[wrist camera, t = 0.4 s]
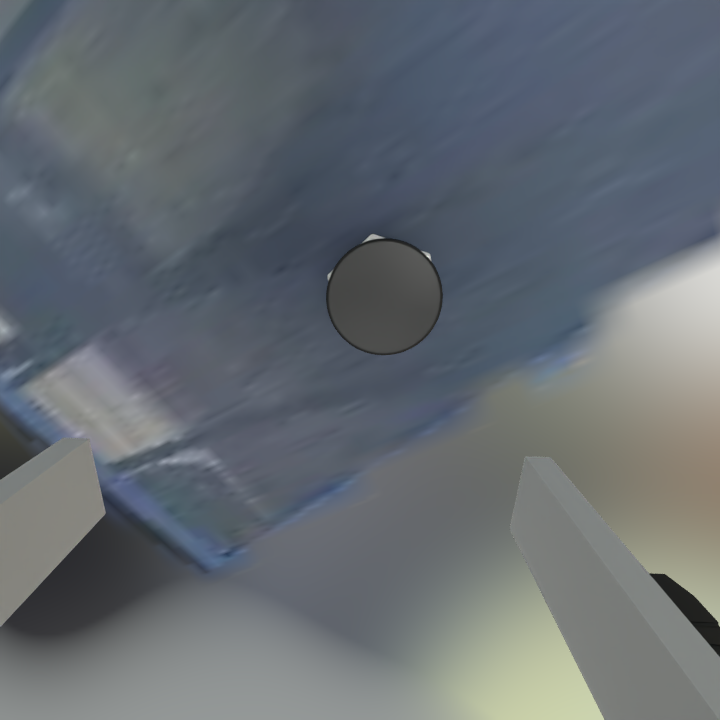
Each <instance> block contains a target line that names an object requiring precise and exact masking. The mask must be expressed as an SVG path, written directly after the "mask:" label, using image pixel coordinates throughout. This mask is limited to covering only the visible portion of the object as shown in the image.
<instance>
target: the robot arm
mask: <svg viewBox="0 0 720 720" xmlns="http://www.w3.org/2000/svg"><path fill="white" fill-rule="evenodd" d="M105 514H106V513H105V508H104V504H103V499H102V495H101V490H100V486H99V481H98V477H97V472H96V467H95V463H94V458H93V454H92V449H91V445H90V440H89V439H85V438H62V439H61V440H59V441H58V442H56V443H55V444H53V445H52V446H50V447H49V448H47V449H46V450H44V451H43V452H41V453H40V454H38V455H37V456H35V457H34V458H33V459H31V460H29V461H28V462H27V463H25V464H24V465H22V466H21V467H19V468H18V469H16V470H15V471H13V472H12V473H10V474H9V475H7V476H6V477H4V478H3V479H1V480H0V627H1V625H2V624H3V623H4V622H5V621H6V620H7V619H8V618H9V617H10V616H11V615H12V614H13V613H14V611H15V610H16V609H17V608H18V607H19V606H20V605H21V604H22V603H23V601H25V600H26V599H27V597H28V596H29V595H30V594H31V593H32V592H33V591H34V590H35V589H36V588H37V587H38V586H39V584H40V583H41V582H42V581H43V580H44V579H45V578H46V577H47V576H48V575H49V574H50V573H51V572H52V571H53V569H54V568H55V567H56V566H57V565H58V564H59V563H60V562H61V561H62V560H63V559H64V558H65V557H66V556H67V554H68V553H69V552H70V551H71V550H72V549H73V548H74V547H75V546H76V545H77V544H78V543H79V542H80V540H81V539H82V538H83V537H84V536H85V535H86V534H87V533H88V532H89V531H90V530H91V529H92V528H93V526H94V525H95V524H96V523H97V522H98V521H99V520H100V519H101V518H102V517H103V516H104V515H105ZM510 531H511V533H512V535H513V537H514V539H515V541H516V543H517V545H518V547H519V549H520V551H521V553H522V555H523V557H524V559H525V561H526V563H527V565H528V567H529V569H530V571H531V573H532V575H533V577H534V579H535V581H536V583H537V585H538V587H539V589H540V591H541V593H542V595H543V597H544V599H545V601H546V603H547V605H548V607H549V609H550V611H551V613H552V615H553V617H554V619H555V621H556V623H557V625H558V627H559V629H560V631H561V633H562V635H563V637H564V639H565V641H566V643H567V645H568V647H569V649H570V651H571V653H572V655H573V657H574V659H575V661H576V663H577V665H578V667H579V669H580V671H581V673H582V675H583V677H584V679H585V681H586V683H587V685H588V687H589V689H590V691H591V693H592V695H593V697H594V699H595V701H596V703H597V705H598V707H599V709H600V711H601V713H602V715H603V717H604V719H605V720H720V627H719V625H718V622H717V620H715V618H714V617H713V616H712V615H711V614H710V613H709V612H708V611H707V610H706V609H705V608H704V606H703V605H702V604H701V603H700V602H699V601H698V600H697V599H696V598H695V597H694V596H693V595H692V594H690V593H689V592H688V591H687V590H685V589H684V588H682V587H681V586H680V585H679V584H677V583H676V582H675V581H673V580H672V579H671V578H669V577H668V576H667V575H665V574H649V573H648V572H647V571H646V569H645V568H644V567H643V566H642V565H641V564H640V563H639V561H638V560H637V559H636V558H635V556H634V555H633V554H632V553H631V552H630V551H629V549H628V548H627V547H626V546H625V545H624V543H622V541H621V540H620V539H619V538H618V536H617V535H616V534H615V533H614V532H613V530H612V529H611V528H610V527H609V526H608V525H607V523H606V522H605V521H604V520H603V519H602V517H600V515H599V514H598V513H597V512H596V511H595V509H594V508H593V507H592V506H591V505H590V503H589V502H588V501H587V500H586V499H585V497H584V496H583V495H582V494H581V493H580V492H579V491H578V489H577V488H576V487H575V486H574V484H573V483H572V482H571V481H570V480H569V479H568V477H567V476H566V475H565V474H564V473H563V471H562V470H561V469H560V468H559V467H558V466H557V465H556V463H555V462H554V461H553V460H552V458H550V457H532V456H525V459H524V464H523V469H522V473H521V478H520V483H519V487H518V492H517V497H516V501H515V506H514V511H513V515H512V520H511V525H510Z"/></svg>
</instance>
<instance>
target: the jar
mask: <svg viewBox="0 0 720 720" xmlns="http://www.w3.org/2000/svg"><path fill="white" fill-rule="evenodd" d="M327 278H328V286H327V293H326V302H327V309H328V313H329V316H330V319H331V321H332V324H333V325H334V327H335V329H336V330H337V332H338V333H339V334H340V335H341V337H342V338H343V339H344V340H345V341H347V342H348V343H349V344H350V345H352V346H354V347H355V348H357V349H359V350H361V351H364V352H367V353H370V354H375V355H392V354H397V353H401V352H404V351H406V350H409V349H411V348H412V347H414V346H416V345H417V344H419V343H420V342H421V341H422V340H423V339H424V338H425V337H426V336H427V335H428V334H429V333H430V332H431V330H432V329H433V327H434V326H435V324H436V322H437V320H438V317H439V315H440V311H441V307H442V299H443V293H442V285H441V280H440V277H439V275H438V272H437V270H436V268H435V266H434V265H433V263H432V262H431V256H430V254H429V253H427V252H424V251H421V250H419V249H418V248H416V247H415V246H413V245H411V244H409V243H407V242H404V241H401V240H397V239H390V238H384V237H381V236H378V235H375V234H371V235H370V236H369V237H368V238H367V239H365V240H364V241H363V242H362V243H361V244H359V245H357V246H355V247H354V248H352V249H351V250H349V251H348V252H347V253H346V254H345V255H344V256H343V257H342V258H341V259H340V260H339V261H338V263H337V264H336V266H335V267H334V269H333V270H332V271H331V272H330V273H329V274H328V276H327Z"/></svg>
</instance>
